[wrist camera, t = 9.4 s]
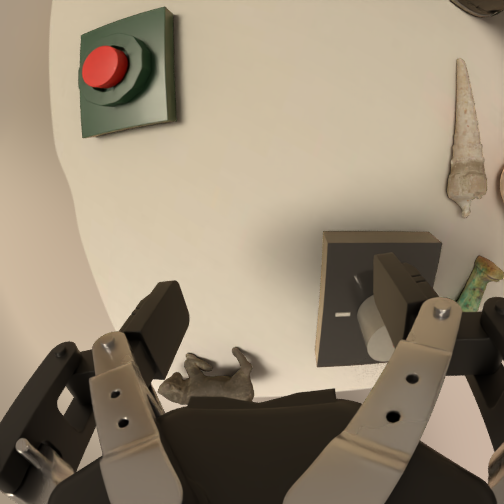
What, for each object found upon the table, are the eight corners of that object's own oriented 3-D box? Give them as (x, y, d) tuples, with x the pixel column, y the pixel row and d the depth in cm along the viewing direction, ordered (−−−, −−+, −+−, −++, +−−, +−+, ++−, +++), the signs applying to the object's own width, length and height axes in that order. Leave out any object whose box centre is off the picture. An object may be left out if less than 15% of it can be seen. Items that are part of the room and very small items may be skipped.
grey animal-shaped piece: (253, 345, 32) (246, 395, 25) (261, 378, 34) (256, 426, 27) (158, 348, 34) (137, 391, 27) (173, 379, 36) (157, 421, 29)
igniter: (92, 39, 20) (70, 31, 16) (173, 14, 19) (157, -1, 15) (94, 136, 24) (70, 140, 21) (176, 121, 23) (159, 120, 20)
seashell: (439, 211, 24) (455, 222, 20) (434, 57, 19) (448, 44, 15) (474, 215, 23) (492, 226, 19) (469, 65, 18) (487, 54, 14)
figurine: (500, 267, 25) (517, 282, 22) (434, 362, 31) (444, 381, 28) (477, 251, 25) (495, 266, 21) (407, 354, 31) (416, 375, 28)
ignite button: (93, 56, 18) (82, 53, 16) (128, 44, 17) (118, 39, 16) (93, 93, 19) (81, 92, 18) (128, 82, 19) (118, 80, 17)
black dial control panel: (322, 230, 26) (327, 243, 23) (428, 231, 25) (443, 243, 22) (314, 349, 31) (316, 368, 29) (403, 343, 30) (411, 360, 27)
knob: (358, 335, 27) (368, 368, 22) (355, 298, 25) (367, 331, 21) (399, 324, 26) (414, 356, 21) (399, 287, 24) (418, 317, 20)
